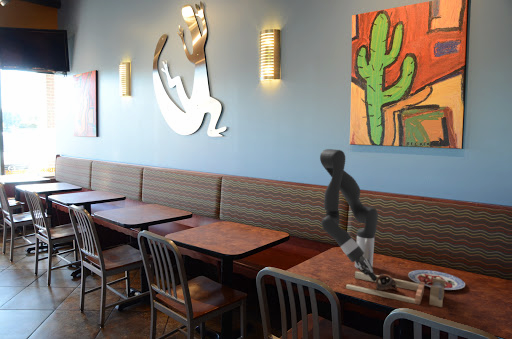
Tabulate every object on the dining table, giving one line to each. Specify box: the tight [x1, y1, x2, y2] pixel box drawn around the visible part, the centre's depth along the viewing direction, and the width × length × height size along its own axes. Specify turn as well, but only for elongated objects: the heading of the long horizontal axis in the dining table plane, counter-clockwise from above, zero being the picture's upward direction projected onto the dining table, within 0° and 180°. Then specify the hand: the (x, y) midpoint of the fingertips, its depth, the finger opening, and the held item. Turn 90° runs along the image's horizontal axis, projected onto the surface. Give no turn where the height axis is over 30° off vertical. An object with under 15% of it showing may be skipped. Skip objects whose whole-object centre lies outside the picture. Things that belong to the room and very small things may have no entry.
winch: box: [428, 278, 445, 308], centre depth 174 cm, size 15×5×9 cm, turn 152°
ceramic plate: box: [407, 269, 466, 291], centre depth 197 cm, size 26×26×3 cm
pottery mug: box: [375, 273, 398, 292], centre depth 186 cm, size 12×10×8 cm
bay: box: [345, 270, 425, 306], centre depth 186 cm, size 18×32×4 cm, turn 62°
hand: (376, 280), depth 187 cm, fingers closed
